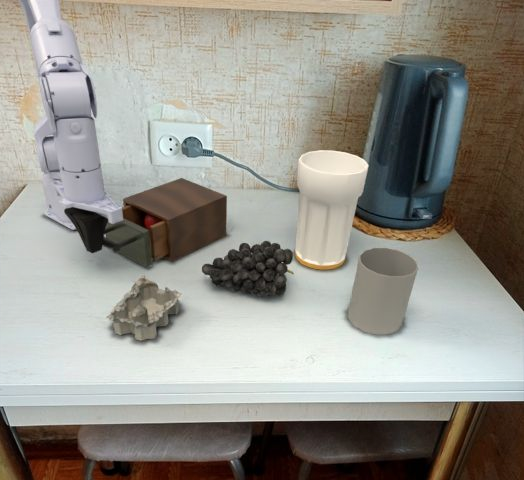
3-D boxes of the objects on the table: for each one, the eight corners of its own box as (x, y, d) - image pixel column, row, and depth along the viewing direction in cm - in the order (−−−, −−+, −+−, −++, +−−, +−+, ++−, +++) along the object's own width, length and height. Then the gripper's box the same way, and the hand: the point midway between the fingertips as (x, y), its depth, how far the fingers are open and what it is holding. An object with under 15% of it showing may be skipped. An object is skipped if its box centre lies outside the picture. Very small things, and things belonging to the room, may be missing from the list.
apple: (134, 219, 90) (152, 200, 92) (147, 240, 93) (165, 222, 95) (152, 220, 87) (171, 200, 89) (165, 242, 90) (183, 223, 92)
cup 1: (335, 240, 99) (350, 148, 88) (361, 269, 90) (381, 172, 79) (280, 245, 96) (288, 151, 85) (302, 276, 87) (314, 176, 76)
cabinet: (171, 262, 89) (169, 219, 83) (127, 240, 94) (122, 198, 89) (226, 235, 97) (227, 195, 92) (183, 216, 103) (181, 177, 98)
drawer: (124, 278, 82) (120, 242, 78) (84, 255, 87) (78, 221, 83) (202, 241, 93) (202, 208, 89) (163, 223, 98) (161, 190, 94)
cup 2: (389, 341, 75) (405, 283, 68) (339, 321, 78) (349, 264, 71) (409, 314, 80) (425, 258, 74) (361, 297, 83) (373, 242, 77)
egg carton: (146, 295, 80) (144, 272, 78) (187, 308, 78) (186, 285, 76) (103, 331, 73) (99, 307, 70) (148, 346, 71) (145, 323, 68)
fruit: (196, 238, 77) (295, 248, 75) (209, 231, 84) (299, 240, 83) (194, 294, 80) (289, 305, 78) (207, 282, 87) (294, 292, 86)
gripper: (26, 158, 74) (46, 243, 82) (87, 187, 67) (102, 275, 76) (68, 147, 78) (83, 229, 87) (130, 174, 72) (139, 259, 80)
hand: (94, 250), depth 82 cm, fingers closed, pressing on drawer
